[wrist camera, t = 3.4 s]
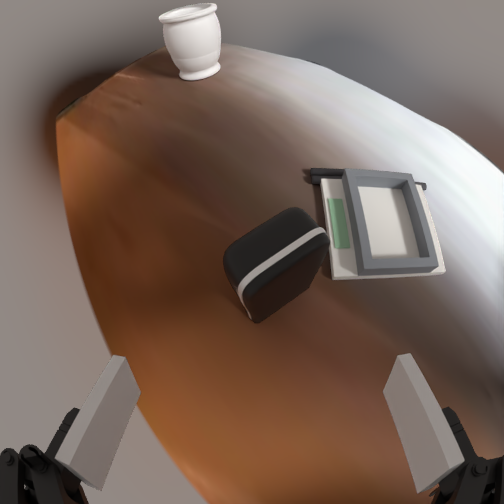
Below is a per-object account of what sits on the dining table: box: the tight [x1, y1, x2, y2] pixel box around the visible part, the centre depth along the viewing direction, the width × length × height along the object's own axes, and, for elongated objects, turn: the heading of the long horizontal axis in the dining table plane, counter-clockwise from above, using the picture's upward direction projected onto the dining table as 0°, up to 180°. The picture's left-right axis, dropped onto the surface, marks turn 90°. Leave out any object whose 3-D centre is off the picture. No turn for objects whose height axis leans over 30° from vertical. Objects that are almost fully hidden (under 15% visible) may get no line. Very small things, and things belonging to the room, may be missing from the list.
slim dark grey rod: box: [310, 168, 426, 190], centre depth 31 cm, size 16×2×1 cm, turn 89°
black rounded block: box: [223, 207, 330, 323], centre depth 21 cm, size 7×4×11 cm, turn 125°
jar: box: [159, 3, 221, 80], centre depth 38 cm, size 11×10×15 cm
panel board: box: [320, 168, 446, 280], centre depth 27 cm, size 14×12×3 cm
